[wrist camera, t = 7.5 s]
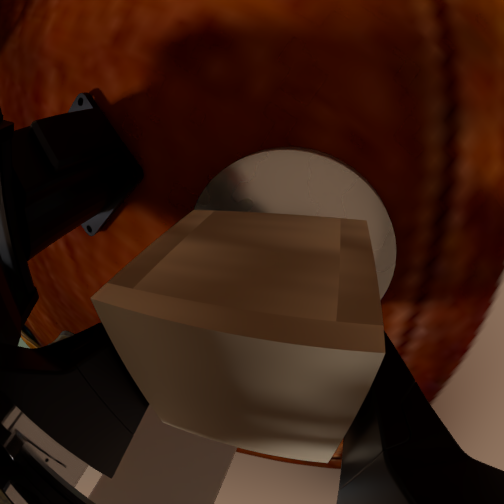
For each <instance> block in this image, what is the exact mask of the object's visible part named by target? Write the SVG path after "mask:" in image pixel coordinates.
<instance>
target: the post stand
mask: <svg viewBox="0 0 504 504" xmlns="http://www.w3.org/2000/svg"><path fill="white" fill-rule="evenodd" d="M194 210H213V211H238V212H259V213H277V214H293V215H307V216H321V217H333V218H345V219H356V220H367V224H368V229H369V234H370V239H371V244H372V249H373V255H374V261H375V266H376V273H377V279H378V286H379V293H380V300H381V299H382V297H383V296H384V294H385V292H386V291H387V289H388V287H389V284H390V282H391V279H392V277H393V273H394V269H395V264H396V240H395V234H394V230H393V226H392V223H391V220H390V218H389V216H388V213H387V211H386V209H385V206H384V204H383V202H382V200H381V198H380V197H379V195H378V194H377V192H376V190H375V189H374V188H373V187H372V186H371V184H370V183H369V182H368V181H367V180H366V179H365V178H364V177H363V176H362V175H361V174H360V173H359V172H358V171H356V170H355V169H354V168H353V167H351V166H350V165H348V164H346V163H345V162H343V161H342V160H340V159H338V158H336V157H333V156H331V155H329V154H327V153H323V152H320V151H317V150H313V149H308V148H301V147H277V148H270V149H265V150H262V151H258V152H255V153H253V154H250V155H248V156H246V157H244V158H242V159H240V160H238V161H236V162H234V163H233V164H231V165H230V166H228V167H227V168H225V169H224V170H222V171H221V172H220V173H219V174H218V175H216V176H215V177H214V178H213V179H212V180H211V181H210V183H209V184H208V185H207V186H206V188H205V189H204V190H203V192H202V194H201V195H200V197H199V199H198V201H197V203H196V206H195V208H194Z"/></svg>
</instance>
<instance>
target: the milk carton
mask: <svg viewBox="0 0 504 504" xmlns="http://www.w3.org/2000/svg"><path fill="white" fill-rule="evenodd" d="M133 435H134V436H133V438H132V440H131V442H130V444H129V446H128V448H127V450H126V452H125V454H124V456H123V458H122V460H121V462H120V464H119V466H118V468H117V470H116V472H115V474H114V476H113V477H112V479H111V478H109V477H107V476H106V475H104V474H102V476H101V478H100V479H99V481H98V482H97V484H96V486H95V487H94V489H93V491H92V492H91V494H90V495H89V497H88V499H90V500H91V501H93V502H94V503H95V504H214V502H215V499H216V497H217V495H218V493H219V490H220V488H221V485H222V483H223V481H224V479H225V476H226V474H227V471H228V469H229V467H230V464H231V461H232V459H233V456H234V454H235V452H236V449H237V447H235V446H231V445H227V444H224V443H220V442H217V441H213V440H210V439H207V438H204V437H201V436H198V435H195V434H192V433H189V432H186V431H183V430H181V429H178V428H175V427H173V426H170V425H168V424H165V423H163V422H162V421H161V420H160V418H159V417H158V415H157V414H156V413H155V411H154V410H153V408H152V407H151V405H150V404H149V406H148V408H147V410H146V412H145V414H144V416H143V418H142V420H141V422H140V424H139V426H138V428H137V430H136V432H135V434H133Z"/></svg>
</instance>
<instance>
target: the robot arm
mask: <svg viewBox="0 0 504 504" xmlns="http://www.w3.org/2000/svg"><path fill="white" fill-rule="evenodd" d="M132 172H133V173H134V175H135V178H134V177H133V175H132ZM142 179H143V170H142V168H141V167H140V165H139V164H138V163H137V161H136V160H135V158H134V157H133V156H132V154H131V153H130V152H129V150H128V149H127V147H126V146H125V145H124V143H123V142H122V140H121V139H120V137H119V136H118V135H117V133H116V132H115V130H114V129H113V127H112V126H111V125H110V123H109V122H108V120H107V119H106V117H105V116H104V114H103V113H102V112H101V110H100V109H99V107H98V106H97V104H96V103H95V101H94V100H93V98H92V97H91V95H90V94H89V93H80V94H79V95H78V96H77V97H76V99H75V101H74V102H73V104H72V106H71V108H70V110H69V111H68V113H64V114H60V115H55V116H51V117H47V118H43V119H39V120H36V121H33V122H32V124H31V126H28V127H25V128H22V129H18V130H15V131H14V123H13V122H10V121H6V120H3V115H2V112H1V108H0V490H1V491H2V492H3V493H4V495H5V496H6V497H7V499H8V500H9V501H10V502H11V503H12V504H95V503H94V502H93V501H91V500H90V499H88V498H87V497H86V496H84V495H83V494H82V493H80V492H79V491H78V490H77V489H75V488H74V487H75V486H76V484H77V483H78V481H79V480H80V478H81V476H82V475H83V473H84V472H85V470H86V469H87V467H88V465H90V466H91V467H93V468H94V469H96V470H97V471H99V472H101V473H102V474H104V475H106V476H107V477H109V478H111V479H112V477H113V476H114V474H115V472H116V470H117V468H118V466H119V464H120V462H121V460H122V458H123V456H124V454H125V452H126V450H127V448H128V446H129V444H130V442H131V440H132V438H133V436H134V435H133V434H135V432H136V430H137V428H138V426H139V424H140V422H141V420H142V418H143V416H144V414H145V412H146V410H147V408H148V406H149V403H148V401H147V400H146V398H145V397H144V395H143V394H142V392H141V391H140V389H139V387H138V386H137V384H136V383H135V381H134V380H133V378H132V376H131V375H130V373H129V371H128V370H127V368H126V366H125V365H124V363H123V361H122V359H121V358H120V356H119V354H118V352H117V350H116V349H115V347H114V345H113V343H112V341H111V339H110V337H109V336H108V334H107V332H106V330H105V328H104V326H103V324H102V322H101V323H98V324H96V325H94V326H92V327H90V328H88V329H86V330H84V331H81V332H79V333H77V334H74V335H72V336H70V337H67V338H65V339H62V340H60V341H57V342H55V343H52V344H50V345H47V346H44V347H41V348H35V349H30V348H24V347H19V346H18V343H19V339H20V337H21V330H22V328H23V326H24V324H25V322H26V320H27V318H28V316H29V315H30V313H31V311H32V309H33V307H34V306H35V304H36V302H37V300H38V298H39V295H38V292H37V289H36V287H35V286H34V284H33V281H32V277H31V274H30V270H29V266H28V263H27V261H28V260H30V259H31V258H32V257H34V256H35V255H36V254H38V253H39V252H41V251H42V250H43V249H45V248H46V247H48V246H49V245H51V244H52V243H54V242H55V241H57V240H58V239H59V238H61V237H62V236H64V235H66V234H67V233H69V232H70V231H72V230H73V229H75V228H76V227H78V226H80V225H82V227H83V228H84V230H85V231H86V232H87V234H88V235H90V236H93V235H95V234H96V233H98V232H99V230H100V229H101V228H102V227H103V225H104V224H105V223H106V222H107V220H108V219H109V218H110V217H111V215H112V214H113V213H114V212H115V211H116V209H117V208H118V207H119V206H120V205H121V203H122V202H123V201H124V200H125V199H126V198H127V196H128V195H129V194H130V193H131V192H132V191H133V190H134V188H135V187H136V186H137V185H138V184H139V183H140V182H141V181H142ZM384 340H385V355H384V358H383V360H382V362H381V365H380V367H379V369H378V372H377V374H376V376H375V378H374V381H373V383H372V385H371V387H370V389H369V391H368V393H367V395H366V397H365V399H364V401H363V403H362V405H361V407H360V409H359V411H358V413H357V415H356V416H355V418H354V420H353V422H352V424H351V426H350V427H349V429H348V431H347V433H346V434H345V436H344V441H343V454H342V465H341V475H340V483H339V491H338V499H337V504H504V471H502V470H500V469H497V468H495V467H492V466H489V465H487V464H485V463H482V462H479V461H478V460H475V459H473V458H471V457H470V456H468V455H467V454H466V453H465V452H464V451H463V450H462V449H461V448H460V446H459V445H458V444H457V442H456V441H455V439H454V438H453V437H452V435H451V434H450V432H449V431H448V430H447V428H446V427H445V425H444V424H443V422H442V421H441V420H440V418H439V417H438V415H437V414H436V413H435V411H434V410H433V408H432V407H431V405H430V404H429V402H428V401H427V399H426V397H425V396H424V394H423V392H422V391H421V389H420V387H419V386H418V384H417V382H415V379H414V377H413V376H412V374H411V372H410V371H409V369H408V367H407V366H406V364H405V363H404V361H403V359H402V358H401V356H400V355H399V353H398V351H397V350H396V348H395V347H394V345H393V343H392V342H391V340H390V339H389V337H388V336H387V334H386V333H385V331H384ZM414 382H415V383H414Z"/></svg>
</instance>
